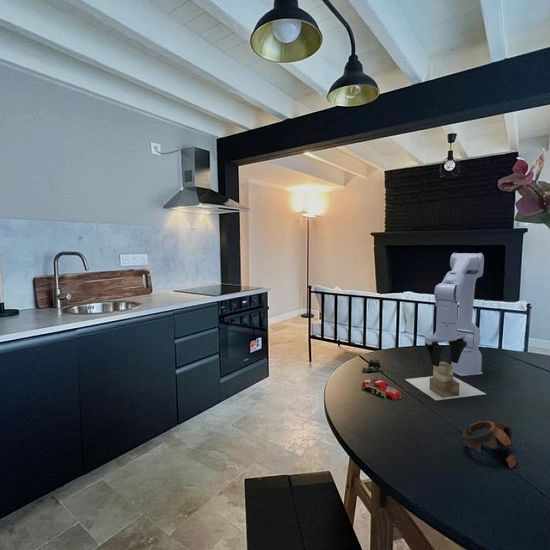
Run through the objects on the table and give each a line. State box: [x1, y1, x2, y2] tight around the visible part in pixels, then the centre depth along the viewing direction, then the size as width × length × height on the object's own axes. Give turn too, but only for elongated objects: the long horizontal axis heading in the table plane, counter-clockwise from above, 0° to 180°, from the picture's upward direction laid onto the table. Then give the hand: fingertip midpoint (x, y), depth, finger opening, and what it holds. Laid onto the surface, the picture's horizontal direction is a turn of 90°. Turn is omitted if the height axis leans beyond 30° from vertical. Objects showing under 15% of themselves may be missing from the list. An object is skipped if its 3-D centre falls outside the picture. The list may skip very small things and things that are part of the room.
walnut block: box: [429, 376, 460, 398], centre depth 106 cm, size 6×6×4 cm
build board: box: [404, 375, 486, 401], centre depth 111 cm, size 18×16×1 cm
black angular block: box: [361, 359, 386, 374], centre depth 125 cm, size 12×7×5 cm, turn 72°
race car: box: [361, 378, 403, 401], centre depth 107 cm, size 13×6×4 cm, turn 39°
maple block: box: [432, 361, 454, 383], centre depth 106 cm, size 4×4×5 cm
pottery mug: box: [462, 420, 518, 469], centre depth 77 cm, size 12×10×8 cm
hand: (444, 363), depth 105 cm, fingers open, 7 cm apart
